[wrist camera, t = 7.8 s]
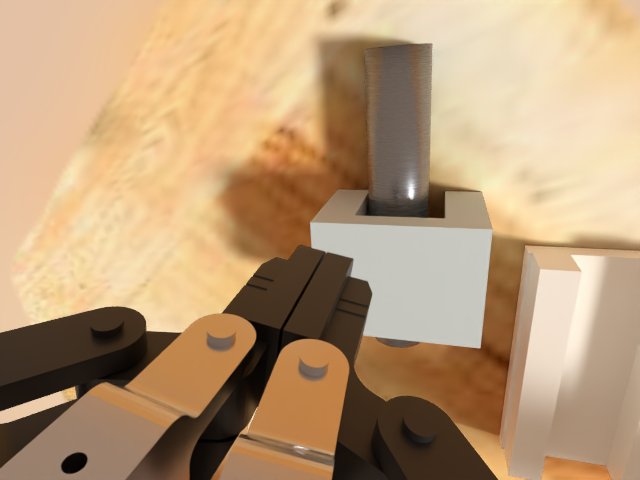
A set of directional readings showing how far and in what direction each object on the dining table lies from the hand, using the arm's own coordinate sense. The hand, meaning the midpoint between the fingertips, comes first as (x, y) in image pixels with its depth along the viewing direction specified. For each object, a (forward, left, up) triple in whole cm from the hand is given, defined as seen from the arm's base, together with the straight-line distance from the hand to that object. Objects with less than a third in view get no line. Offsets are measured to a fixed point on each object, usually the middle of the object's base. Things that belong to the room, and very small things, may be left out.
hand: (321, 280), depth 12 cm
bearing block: (-4, -1, -14) cm, 14 cm away
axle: (-2, -1, -14) cm, 14 cm away
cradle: (-11, -12, -14) cm, 21 cm away
